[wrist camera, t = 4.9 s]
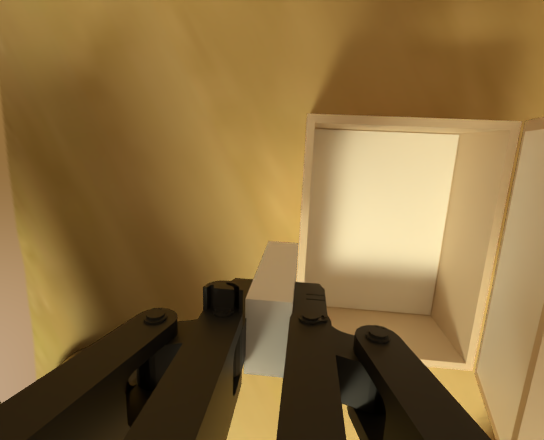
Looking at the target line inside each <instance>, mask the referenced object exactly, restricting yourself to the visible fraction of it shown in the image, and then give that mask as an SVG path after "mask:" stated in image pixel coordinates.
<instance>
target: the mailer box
mask: <svg viewBox="0 0 544 440" xmlns="http://www.w3.org/2000/svg"><path fill="white" fill-rule="evenodd" d="M521 124H522V121H503V120H475V119H447V118H420V117H392V116H364V115H337V114H309V113H307V125H306V140H305V156H304V172H303V188H302V204H301V220H300V236H299V252H298V268H297V282H305V283H318V284H320V285H321V286H322V287H323V288H324V289H325V297H326V306H327V315H328V316H329V318H330V320H331V323H332V326H333V327H334V328H336V329H338V330H339V331H342V332H345V333H348V334H351V335H355V331H356V329H357V328H359V327H361V326H365V325H379V326H383V327H386V328H387V329H389V330H392V331H393V332H395V333H396V334H397V335H398V336H399V337H400V338H401V339H402V340H403V341H404V342H405V343H406V344H407V346H408V347H409V348H410V349H411V350H412V351H413V352H414V353H415V355H416V356H417V357H418V358H419V359H420V360H421V361H422V362H423V364H424V365H425V366H426V367H436V368H446V369H456V370H467V371H473V366H474V361H475V356H476V350H477V345H478V340H479V335H480V330H481V325H482V320H483V315H484V310H485V305H486V300H487V295H488V290H489V285H490V280H491V275H492V270H493V265H494V260H495V255H496V250H497V245H498V240H499V234H500V229H501V224H502V219H503V214H504V209H505V204H506V199H507V194H508V189H509V184H510V179H511V174H512V169H513V164H514V159H515V154H516V149H517V144H518V139H519V134H520V129H521Z"/></svg>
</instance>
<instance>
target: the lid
mask: <svg viewBox="0 0 544 440" xmlns="http://www.w3.org/2000/svg"><path fill="white" fill-rule="evenodd" d="M475 377H476V380H477V383H478V386H479V389H480V392H481V396H482V399H483V402H484V405H485V408H486V411H487V414H488V417H489V421H490V424H491V427H492V430H493V433H494V436H495V439H496V440H544V117H540V118H536V119H531V120H527V121H525V125H524V130H523V135H522V140H521V145H520V150H519V155H518V160H517V165H516V170H515V175H514V180H513V185H512V190H511V195H510V200H509V205H508V210H507V215H506V220H505V225H504V230H503V235H502V240H501V245H500V250H499V255H498V260H497V265H496V270H495V275H494V280H493V285H492V290H491V295H490V300H489V305H488V310H487V315H486V320H485V325H484V330H483V335H482V340H481V345H480V350H479V355H478V360H477V364H476V369H475Z"/></svg>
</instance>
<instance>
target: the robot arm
mask: <svg viewBox="0 0 544 440" xmlns="http://www.w3.org/2000/svg"><path fill="white" fill-rule="evenodd" d="M297 256H298V243H290V242H274V241H268V244H267V246H266V249H265V251H264V254H263V256H262V259H261V261H260V264H259V266H258V269H257V271H256V274H255V276H254V279H240V278H235V279H233V280H232V281H215V282H211V283H209V284H206V285H205V286H204V287H203V312H202V313H201V315H200V317H199V318H198V319H196V320H190V321H179V322H177V314H176V313H175V312H174V311H172V310H170V309H164V308H158V309H157V308H153V309H151V310H147V311H144V312H142V313H140V314H138V315H136V316H135V317H133V318H132V319H130V320H129V321H127V322H126V323H124V324H123V325H121V326H120V327H118V328H116V329H115V330H113V331H112V332H110V333H109V334H107V335H106V336H104V337H103V338H101V339H100V340H98V341H97V342H95V343H94V344H92V345H90V346H89V347H87V348H84V349H82V350H79V351H77V352H76V353H74V354H72V355H71V356H70V357H68V358H67V359H66V360H65V361H64V362H63V363H62V364H61V365H59V366H58V367H57V368H55V369H54V370H52V371H51V372H49V373H48V374H46V375H45V376H43V377H41V378H40V379H38V380H37V381H35V382H34V383H32V384H31V385H29V386H28V387H26V388H25V389H23V390H22V391H20V392H19V393H17V394H16V395H14V396H12V397H11V398H9V399H8V400H6V401H5V402H3V403H2V404H1V402H0V440H226V439H227V435H228V431H229V428H230V424H231V420H232V417H233V413H234V409H235V405H236V402H237V398H238V394H239V391H240V387H241V378H242V367H243V364H244V374H253V375H263V376H272V377H282V378H283V385H282V394H281V403H280V412H279V421H278V430H277V440H346V434H345V426H344V418H343V410H342V404H345V405H347V410H348V414H349V417H350V419H351V421H352V423H353V425H354V428H355V430H356V432H357V434H358V437H359V439H360V440H491V439H490V438H489V437H488V435H487V434H486V433H485V432H484V431H483V430H482V429H481V428H480V426H479V425H478V424H477V423H476V422H475V421H474V420H473V419H472V417H471V416H470V415H469V414H468V413H467V412H466V411H465V410H464V408H463V407H462V406H461V405H460V404H459V403H458V402H457V401H456V399H455V398H454V397H453V396H452V395H451V394H450V393H449V392H448V390H447V389H446V388H445V387H444V386H443V385H442V384H441V383H440V381H439V380H438V379H437V378H436V377H435V376H434V375H433V374H432V372H431V371H430V370H429V369H428V368H427V367H426V366H425V365H424V364H423V362H422V361H421V360H420V359H419V358H418V357H417V356H416V355H415V353H414V352H413V351H412V350H411V349H410V348H409V347H408V346H407V344H406V343H405V342H404V341H403V340H402V339H401V338H400V337H399V336H398V335H397V334H396V333H395V332H393V331H392V330H389V329H387V328H386V327H383V326H379V325H365V326H361V327H359V328H357V329H356V331H355V335H351V334H348V333H345V332H342V331H339V330H338V329H336V328H334V327H333V326H332V323H331V320H330V318H329V316H328V315H327V306H326V297H325V289H324V288H323V287H322V286H321V285H320V284H318V283H305V282H296V274H297Z"/></svg>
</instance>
